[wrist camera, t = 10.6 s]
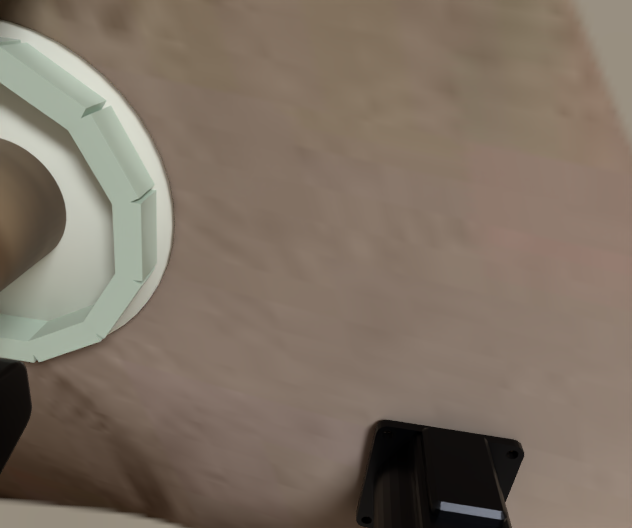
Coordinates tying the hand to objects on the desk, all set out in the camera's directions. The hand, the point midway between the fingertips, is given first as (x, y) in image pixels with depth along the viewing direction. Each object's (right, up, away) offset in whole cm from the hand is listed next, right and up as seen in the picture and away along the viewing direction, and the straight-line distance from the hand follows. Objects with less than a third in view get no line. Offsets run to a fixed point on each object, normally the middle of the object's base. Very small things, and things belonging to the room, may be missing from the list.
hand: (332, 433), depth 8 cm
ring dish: (-12, +5, +13) cm, 19 cm away
